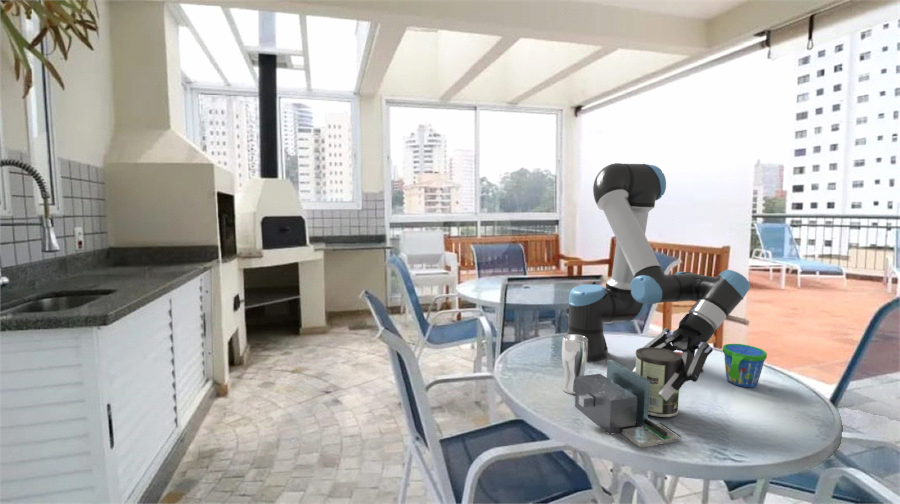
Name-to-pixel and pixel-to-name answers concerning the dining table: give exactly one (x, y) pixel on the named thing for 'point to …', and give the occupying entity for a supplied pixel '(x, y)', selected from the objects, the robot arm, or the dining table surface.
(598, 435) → the dining table surface
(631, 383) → the blue-grey panel with base
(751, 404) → the dining table surface
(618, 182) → the robot arm
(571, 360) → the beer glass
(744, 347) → the snack cup
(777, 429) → the dining table surface
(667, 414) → the coffee can
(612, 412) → the gauge housing
